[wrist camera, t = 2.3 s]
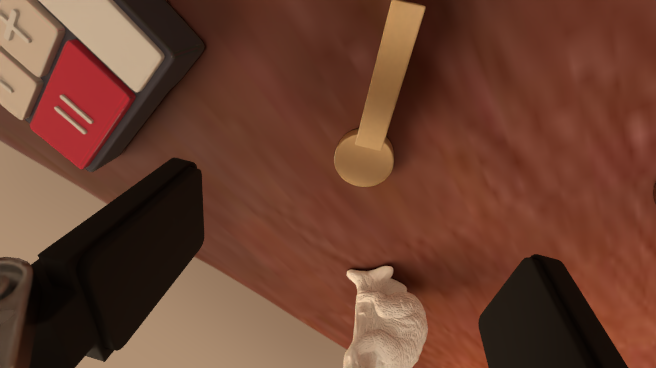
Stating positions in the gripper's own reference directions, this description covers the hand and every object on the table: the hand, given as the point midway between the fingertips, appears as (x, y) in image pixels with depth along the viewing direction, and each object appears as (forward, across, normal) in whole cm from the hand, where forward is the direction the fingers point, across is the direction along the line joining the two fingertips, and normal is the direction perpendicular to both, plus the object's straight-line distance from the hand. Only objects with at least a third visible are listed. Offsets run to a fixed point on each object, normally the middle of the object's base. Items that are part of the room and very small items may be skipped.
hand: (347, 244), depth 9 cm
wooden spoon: (+15, 0, 0) cm, 15 cm away
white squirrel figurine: (+15, -5, +17) cm, 23 cm away
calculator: (+15, +21, +2) cm, 26 cm away
